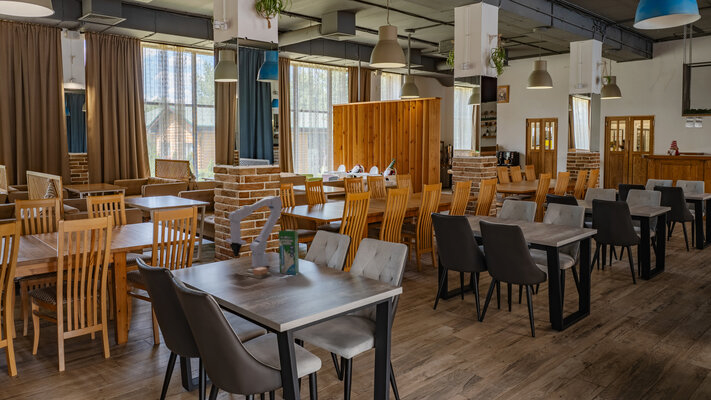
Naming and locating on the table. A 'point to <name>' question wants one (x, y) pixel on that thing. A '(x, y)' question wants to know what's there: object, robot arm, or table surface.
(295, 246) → the milk carton
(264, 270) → the block
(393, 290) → the table surface
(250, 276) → the chute
